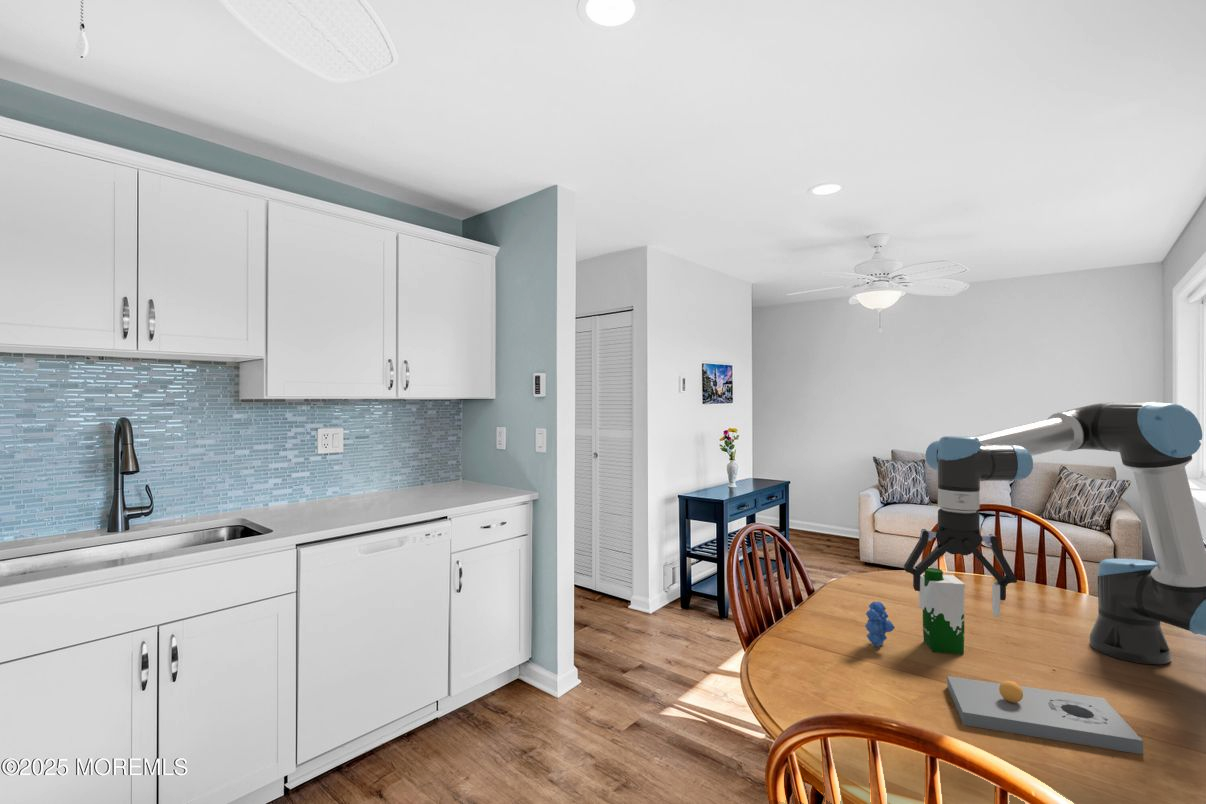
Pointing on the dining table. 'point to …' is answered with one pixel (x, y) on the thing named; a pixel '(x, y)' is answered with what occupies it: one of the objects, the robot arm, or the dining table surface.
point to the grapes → (878, 624)
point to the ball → (1011, 691)
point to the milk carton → (943, 612)
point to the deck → (1043, 715)
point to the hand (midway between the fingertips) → (958, 610)
